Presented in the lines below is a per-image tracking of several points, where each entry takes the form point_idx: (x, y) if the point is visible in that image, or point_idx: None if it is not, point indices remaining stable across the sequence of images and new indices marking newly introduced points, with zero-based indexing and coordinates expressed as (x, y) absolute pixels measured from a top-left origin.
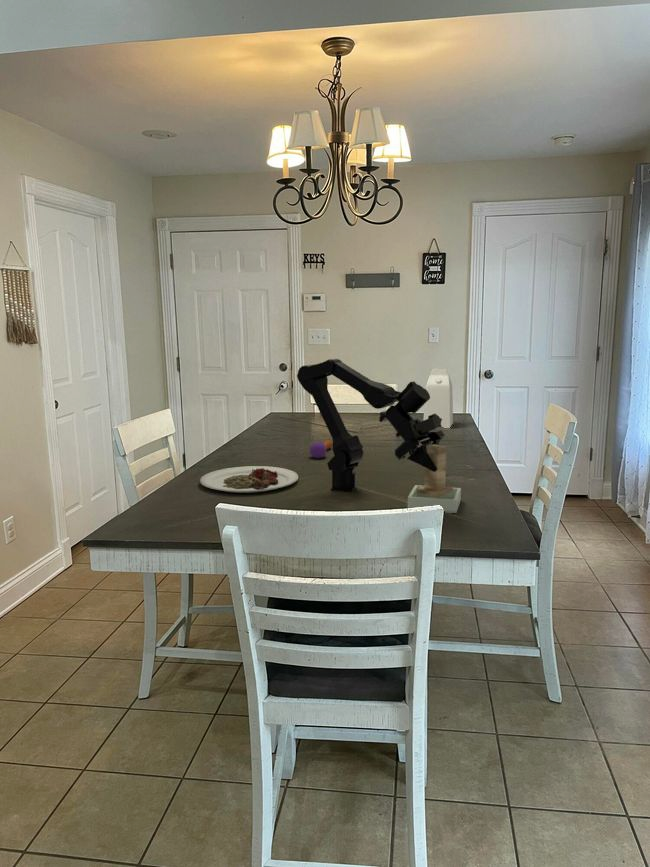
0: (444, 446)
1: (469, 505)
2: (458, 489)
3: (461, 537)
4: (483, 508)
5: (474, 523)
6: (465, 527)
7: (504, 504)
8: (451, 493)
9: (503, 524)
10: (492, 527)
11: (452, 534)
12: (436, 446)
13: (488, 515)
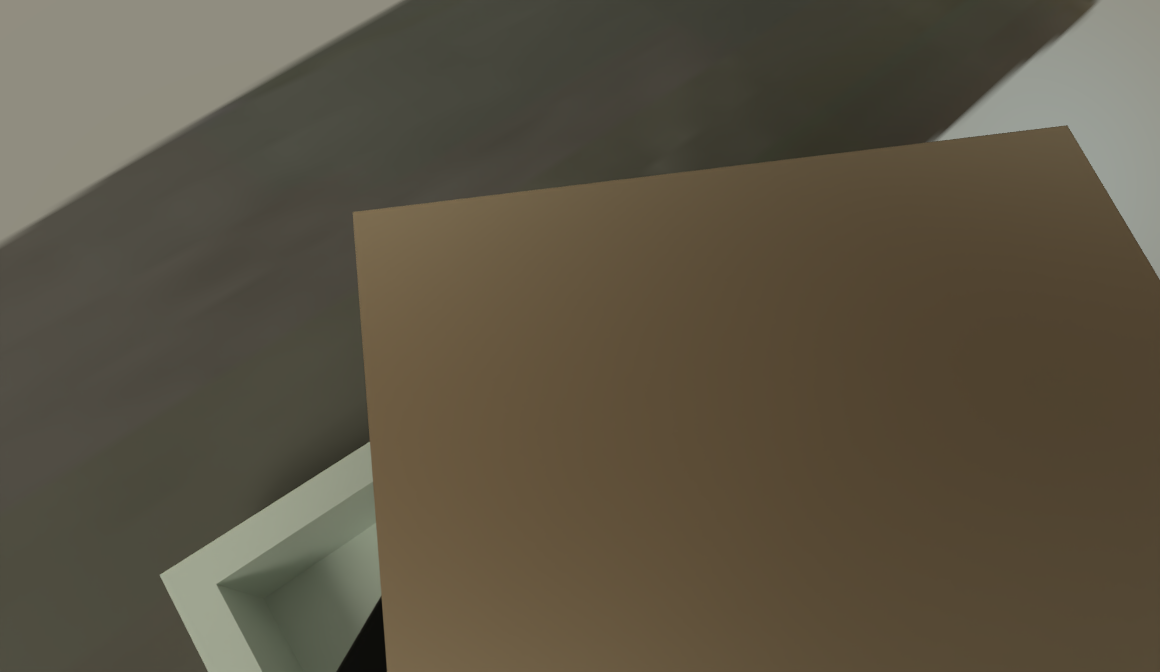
0: (431, 278)
1: (324, 413)
2: (247, 547)
3: (948, 29)
4: (317, 279)
5: (690, 117)
6: (803, 107)
7: (72, 238)
8: (277, 659)
9: (549, 7)
10: (655, 16)
11: (966, 83)
12: (814, 552)
13: (458, 155)
